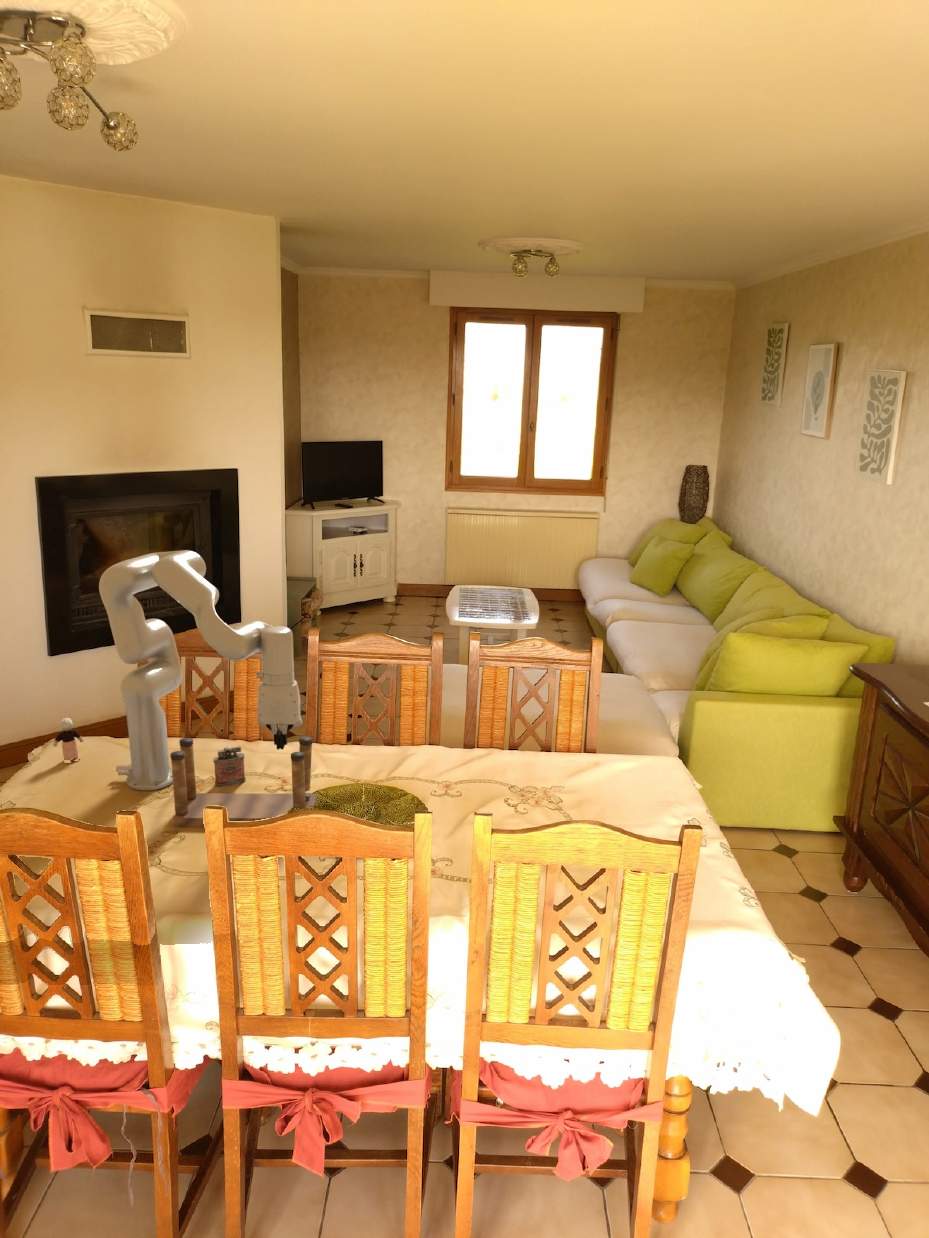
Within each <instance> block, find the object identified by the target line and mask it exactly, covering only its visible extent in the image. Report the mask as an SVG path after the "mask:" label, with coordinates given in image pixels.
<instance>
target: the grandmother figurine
mask: <svg viewBox="0 0 929 1238" xmlns="http://www.w3.org/2000/svg"><path fill="white" fill-rule="evenodd" d="M73 724H74V723H73V720H72V719H71V718H69V717H64V718H62V719H61V720H60V722H59V727H60V729H62V730H63V731H61V732H60V733H58V734H57V735H56V737H55V738H54V742H53V744H52V746H53V747H57V746H58V743H59V742H61V748H62V749H61V750H62V755H63V761H64V760H70V759H71V760H73V758H74V760H76V759H78V757H80V755H79V749H78V745H77V741H76V739H75V738H77V739H78V741H79V742H80V743H84V739H83V737H82V736H81V734H80V733H79V732H78V731H77V730H75V729H73Z"/></svg>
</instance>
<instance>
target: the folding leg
mask: <svg viewBox="0 0 929 1238" xmlns="http://www.w3.org/2000/svg"><path fill="white" fill-rule="evenodd" d="M298 743H299V748H298V750H299V751H298V752H303V753H304V771H305V793H307V792H309V791H310V789H311V777H312V776H311V775H312V773H311V772H312V753H313V752H312V748H313V738H312V737H310V736H302V737H299V740H298Z"/></svg>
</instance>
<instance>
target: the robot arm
mask: <svg viewBox="0 0 929 1238" xmlns="http://www.w3.org/2000/svg"><path fill="white" fill-rule="evenodd" d="M206 572H207V565H206V563H205V560H204V559H203V557H202V556H201V555H200V554H199V553H197V552H195V551H193V550H189V549H185V550H174V551H173V550H172V551H171V550H170V551H160V552H158V551H157V552H151V553H148V554H147V553H146V554H143V555H140V556H136V557H133V558H129V559H125V560H122V561H120V562H118V563H115V564H113V565H111V566H110V567H108V568H107V569H106V570H105V571H104V572H103V573H102V574H101V576H100V579H99V583H98V591H99V595H100V598H101V600H102V601H101V602H102V604H103V605H104V609H105V610H106V614H107V616H108V621H109V626H110V629H111V633H112V637H113V640H114V646H115V649H116V652H117V655H118V658H119V659H120V660H121V661H122V662H123V663H124V664H128V665H135V664H139V663H142V662H145V661H148V663H146V664H143V665H141V666H138V667H137V668H134V669H133V670H131V671H128V673H127V674H126V675H124V676H123V678H122V680H121V682H120V687H119V688H120V689H119V691H120V695H121V697H122V701H123V705H124V708H125V713H126V722H127V730H128V741H129V753H130V763H129V764H128V765H127V764H117V765H116V768H115V771H116V773H117V775H118V776H127V777H126V786H127V787H129V788H131V789H133V790H135V791H141V792H142V791H143V792H145V791H156V790H161V789H163V788H167V787H168V786H170V785H173V776H172V768H171V767H170V757H169V756H170V755H169V743H168V741H169V740H168V730H167V720H166V718H167V717H166V713H165V711H164V709H163V707H162V706H161V704H160V703H159V700H160V699H161V698H163V697H164V696H167V695H168V694H170V693H172V692H174V691H175V690H177V689H178V688H179V687H180V686H181V684H182V680H183V669H182V665H181V660H180V656H179V652H178V649H177V644H176V643H177V642H176V639H175V635H174V633H173V631H172V629H171V627H170V626H169V625H168V624H167V623H166V622H165V621H163V620H161V619H159V618H147V619H146V617H145V613H144V609H143V606H142V604H141V603H140V602H139V600H138V599H137V598H136V597H135V596H134V595H135V594H137V593H139V592H144V591H146V590H150V589H152V588H156V587H158V586H159V588H161V589H162V590H163V591H164V592H166V593H167V594H168V595H169V596H170V597H171V598H173V599H174V600H175V601H176V602H178V603H179V604H180V605H181V606H182V607H183V608H184V609H186V610H187V611H188V612H189V613H191V614H192V615H193V616H194V621H195V623H196V627H197V630H198V631H199V634H200V635H201V637H202V639H203V641H205V642H206V643H207V644H208V646H210V648H212V649H213V650H215V651H216V652H217V653H218V654H219V655H220V656H222V657H223V658H225V659H227V660H230V661H232V662H239V661H243V660H245V659H247V658H249V657H251V656H253V655H255V654H258V653H261V669H262V670H261V671H260V672H256V675H255V678H257V679H261V681H260V683H259V684H258V689H257V690H258V691H257V710H256V711H257V712H256V714H257V725H258V726H260V727H266V728H267V729H268V730H270V732H272V734H273V745H275V746H276V750H284V749H285V746H287V745H288V732H289V731H290V730H292V728H296V727H301V726H302V724H303V720H302V716H301V715H302V703H301V697H300V696H301V695H300V690H299V685H298V681H297V680H296V679H295V665H294V664H295V662H294V660H295V659H294V634H293V631H292V629H291V628H289V627H287V626H281V625H275V626H274V625H271V624H268V623H265V622H264V621H260V620H251V621H249V622H245V623H244V624H241V625H239V626H237V627H236V628H232V627H231V626H229V625H228V624H227V623H226V622H224V621H223V619H221V618H220V616H219V615H218V613H217V612H216V607H215V606H216V604H217V603H218V601H219V598H220V592H219V589H218V588H217V587H216V586H215V585H213V584H212V583H210V582H209V581H208V580H207V579H205V575H206ZM279 725H282V727H281V729H280V727H279Z"/></svg>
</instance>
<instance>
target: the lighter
mask: <svg viewBox="0 0 929 1238" xmlns="http://www.w3.org/2000/svg"><path fill="white" fill-rule="evenodd" d="M213 764H214V777H215V781H214V786H215V787H216V788H224V787H231V786H236V785H240V784H242V783H243V784H244V783H245V782H246V774H245V773H246V772H245V754H244V753H243V752H242V747H241V746H239V745H237V746H233V747H232V746H231V748H229V747H228V746H226V747H224V748H223V749H219V750H217V756H216V757H213Z"/></svg>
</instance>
